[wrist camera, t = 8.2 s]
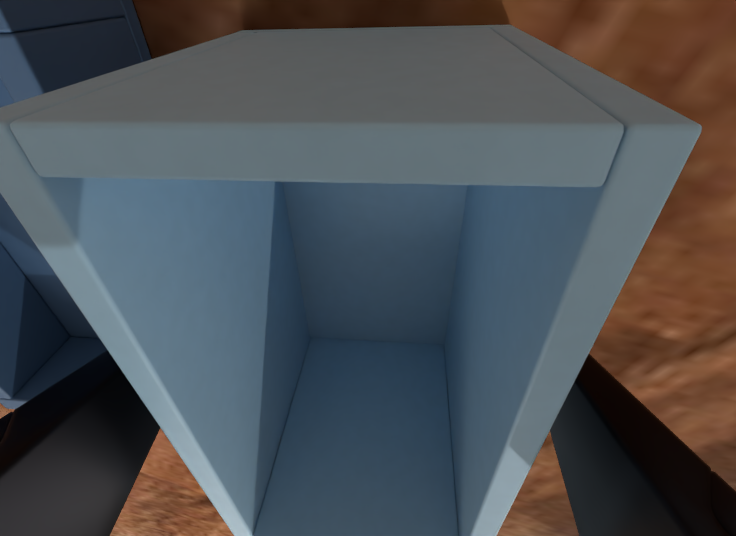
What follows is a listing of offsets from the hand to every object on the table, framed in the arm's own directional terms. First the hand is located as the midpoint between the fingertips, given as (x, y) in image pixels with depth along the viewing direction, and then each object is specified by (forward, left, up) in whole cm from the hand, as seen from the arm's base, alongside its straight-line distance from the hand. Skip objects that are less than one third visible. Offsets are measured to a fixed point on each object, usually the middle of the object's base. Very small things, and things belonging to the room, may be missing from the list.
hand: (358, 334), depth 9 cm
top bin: (0, 0, -5) cm, 5 cm away
